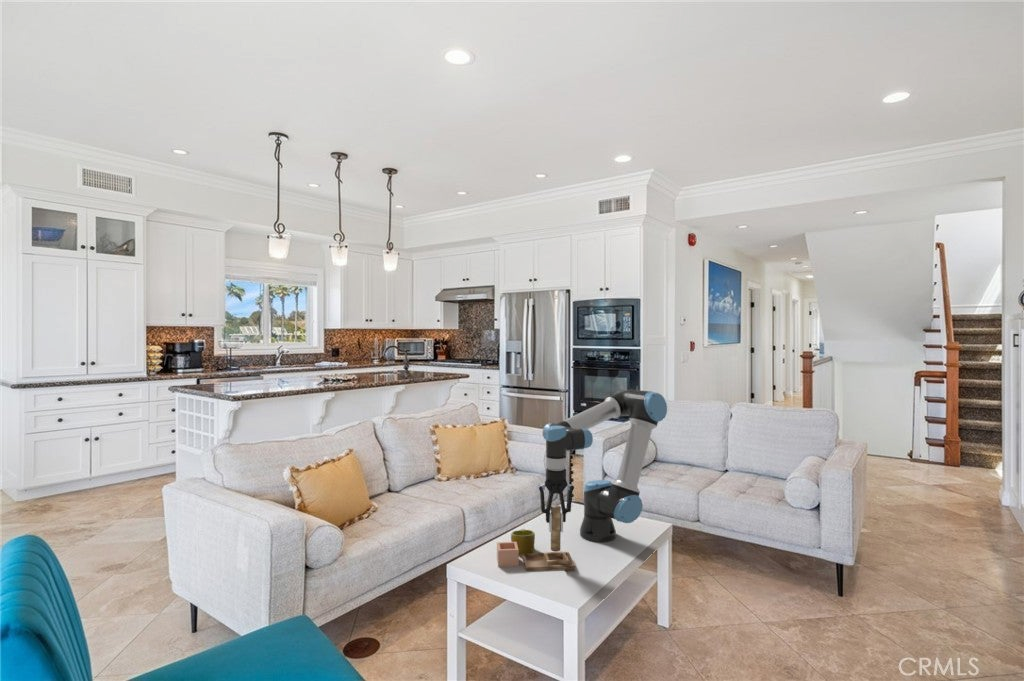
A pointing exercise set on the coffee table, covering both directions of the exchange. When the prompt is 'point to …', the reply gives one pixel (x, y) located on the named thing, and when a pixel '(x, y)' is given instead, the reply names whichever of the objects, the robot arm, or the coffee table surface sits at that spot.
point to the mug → (524, 540)
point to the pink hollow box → (507, 554)
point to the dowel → (556, 528)
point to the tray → (548, 561)
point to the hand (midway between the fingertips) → (555, 530)
